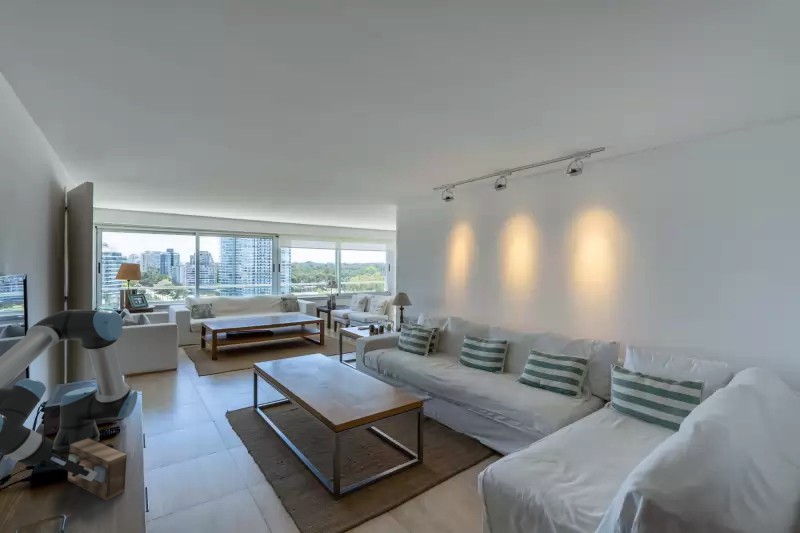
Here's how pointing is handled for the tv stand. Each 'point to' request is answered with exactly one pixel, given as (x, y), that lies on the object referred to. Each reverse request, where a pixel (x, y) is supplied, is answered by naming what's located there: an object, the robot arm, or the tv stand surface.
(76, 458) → the sage key
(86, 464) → the terracotta key
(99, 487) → the wooden block
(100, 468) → the slate key
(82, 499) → the tv stand surface
